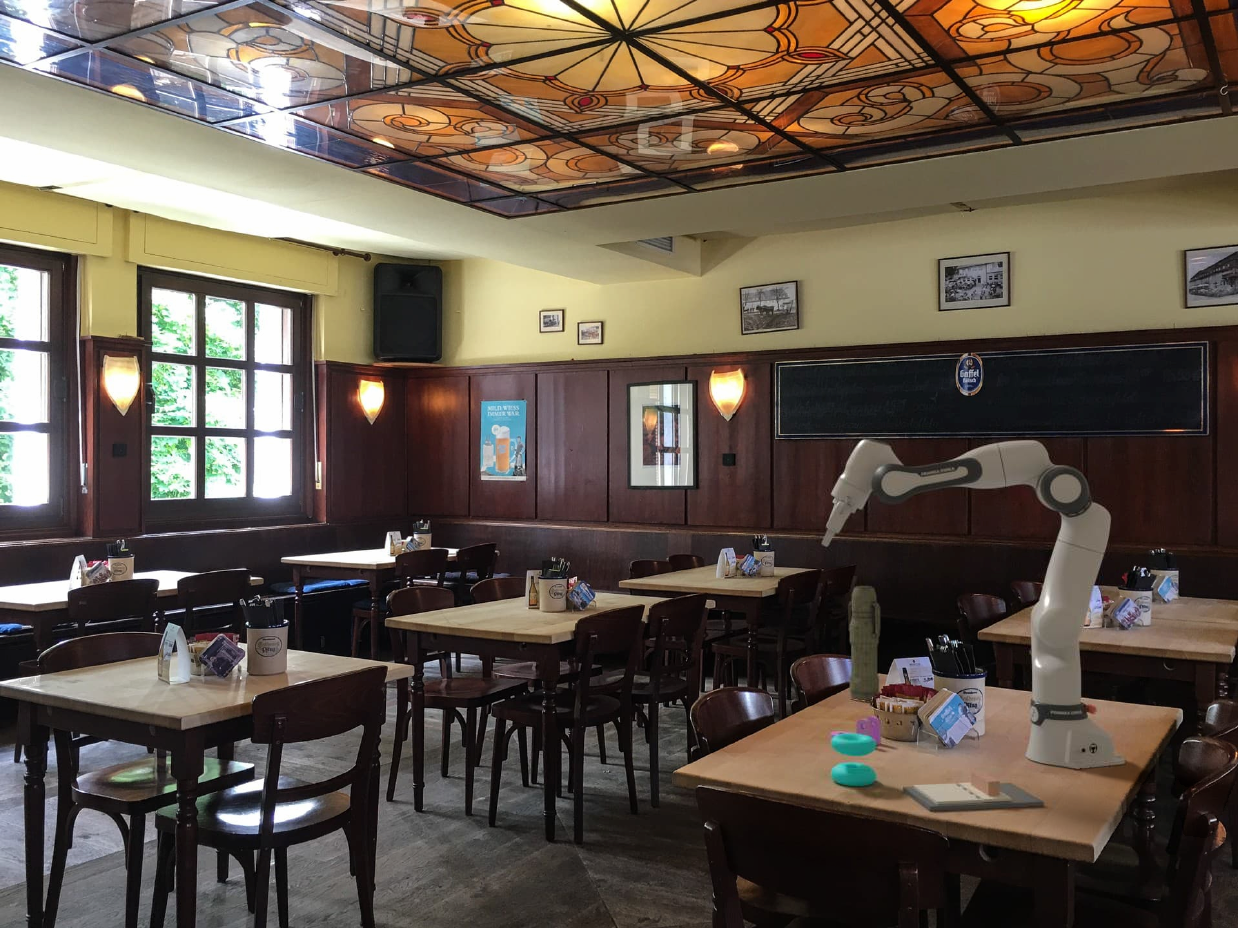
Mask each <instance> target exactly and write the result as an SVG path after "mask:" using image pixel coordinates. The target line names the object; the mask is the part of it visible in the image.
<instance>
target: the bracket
mask: <svg viewBox="0 0 1238 928" xmlns="http://www.w3.org/2000/svg"><path fill="white" fill-rule="evenodd" d="M855 729H856V731H855V732H856V733H854V732H853V733H854V734H862V735H867V736H869V737H871V738H873V739H874V740H875V742H876V746H878V745H881V744H882V724H881V720H880V719H879V717H877V716H875V715H872V716H868V717H867V718H861V719H858V720H857V722H856V728H855ZM846 733H851V732H849V731H840V730H838V731H837V730H835V731H831V732H830V739H831V740H832V738H833V737H834V736H836V735H839V734H846Z"/></svg>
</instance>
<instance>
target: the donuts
mask: <svg viewBox="0 0 1238 928" xmlns="http://www.w3.org/2000/svg"><path fill="white" fill-rule="evenodd" d="M830 746H831V747H832V749H833V750H834V751H835V752H836V753H839V754H841V755H845V756H848V757H850V756H851V757H862V756H867V755H870V754H872V753H874V751H876V748H877V745H876V742H875V740H874V739H873V738H871V737H869V736H867V735H862V734H856V733H855V734H854V732H850V733H846V734H839V735H836V736H834V737H833V738H832V739H831V740H830ZM830 777H831V778H832V781H834V782H836V783H838V784H839V785H844V786H849V787H867V786H870V785H872V784H874V782H875V781H876V779H877V773H876V772H875V770H874V769H873V768H872V767H871V766H869V765H868V764H865V763H859V762H843V763H838V764H837V765H835V766H834V767H833V768H832V769H831V771H830Z"/></svg>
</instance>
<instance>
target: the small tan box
mask: <svg viewBox="0 0 1238 928" xmlns="http://www.w3.org/2000/svg"><path fill="white" fill-rule="evenodd" d="M1000 783H1001V782H1000V780H998V779H996V778H995V777H993V776H991V775H990V774H988V773H986V772H984V771H983V770H977V771H976V770H973V771H972V770H971V771H970V782H958V783H957V784H959V785H960V786H962V787H963V788H965V789H967V790H968V791H970V792H971V793H973V794H975V795H976V796H978V797H979V798H981V799H982V800H983V802H998V801H1011V798H1010V797H1009V796H1007V795H1005V794H1004V793H1002V792H1000Z"/></svg>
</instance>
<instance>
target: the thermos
mask: <svg viewBox="0 0 1238 928" xmlns="http://www.w3.org/2000/svg"><path fill="white" fill-rule="evenodd" d="M847 610H848V611H847V612H848V613H847V615H848V626H847V627H848V629H847V630H848V631H849V643H850V646H851V648H850V649H851V650H850V651H851V653H850V654H851V663H850V665H851V666H850V667H851V672H850V676H849V692H850V696H851V698H853V699H858V700H865V701H871V700H872V697H873V696H874V694H876V693H878V694H879V692H880V678H879V676H878V675H879V674H878V646H879V645H878V644H879V642H880V641H879V638H880V635H881V606H880V604H879V602H877V594H876V591H875V587H872V586H871V585H856V586H855V587H853V590H852V593H851V600H850V601H849V602H848V604H847Z"/></svg>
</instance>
